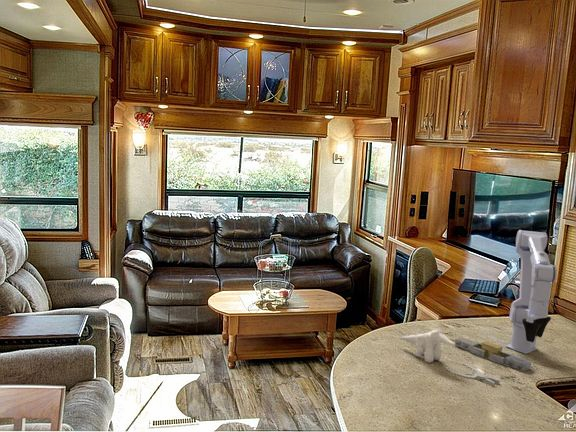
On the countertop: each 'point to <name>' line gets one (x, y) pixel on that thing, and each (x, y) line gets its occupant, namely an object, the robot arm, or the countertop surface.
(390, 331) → the countertop surface
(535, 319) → the robot arm
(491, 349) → the brushed brass bar
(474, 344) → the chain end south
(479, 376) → the pliers
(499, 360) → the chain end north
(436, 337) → the dinosaur statue
